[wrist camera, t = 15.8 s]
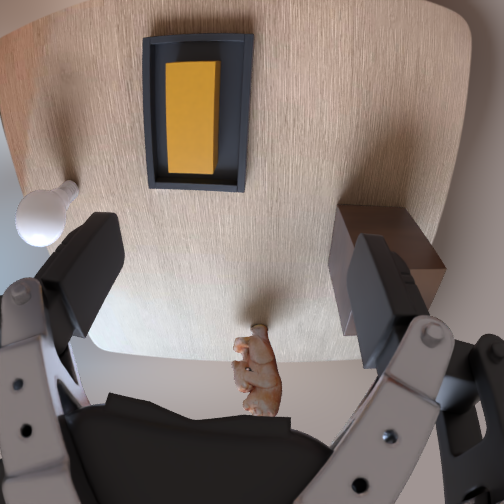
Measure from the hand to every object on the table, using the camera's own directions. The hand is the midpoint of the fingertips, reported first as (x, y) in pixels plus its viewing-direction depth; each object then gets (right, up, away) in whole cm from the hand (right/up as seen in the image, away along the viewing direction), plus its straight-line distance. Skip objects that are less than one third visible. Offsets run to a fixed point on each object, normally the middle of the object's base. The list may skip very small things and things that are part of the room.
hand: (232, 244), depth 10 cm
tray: (-5, +14, +19) cm, 25 cm away
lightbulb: (-23, +8, +25) cm, 35 cm away
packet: (-5, +14, +19) cm, 24 cm away
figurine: (+2, -13, +39) cm, 41 cm away
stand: (+15, +2, +28) cm, 32 cm away
